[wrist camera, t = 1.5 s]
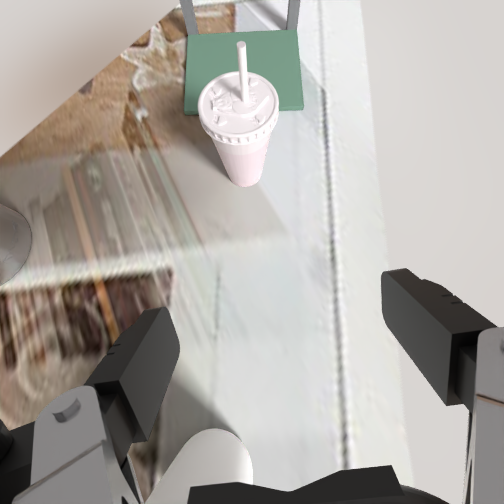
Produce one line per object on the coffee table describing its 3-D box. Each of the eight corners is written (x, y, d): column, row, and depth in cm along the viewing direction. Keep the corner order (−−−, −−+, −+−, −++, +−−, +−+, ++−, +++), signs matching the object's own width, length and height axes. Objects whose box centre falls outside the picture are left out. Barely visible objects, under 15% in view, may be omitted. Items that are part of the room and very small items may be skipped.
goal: (185, 114, 33) (132, -36, 19) (189, 32, 36) (147, -143, 23) (303, 109, 32) (333, -47, 19) (295, 27, 36) (316, -154, 22)
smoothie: (278, 193, 29) (294, 78, 16) (219, 202, 29) (185, 95, 16) (268, 143, 31) (274, 1, 18) (212, 151, 31) (176, 16, 18)
